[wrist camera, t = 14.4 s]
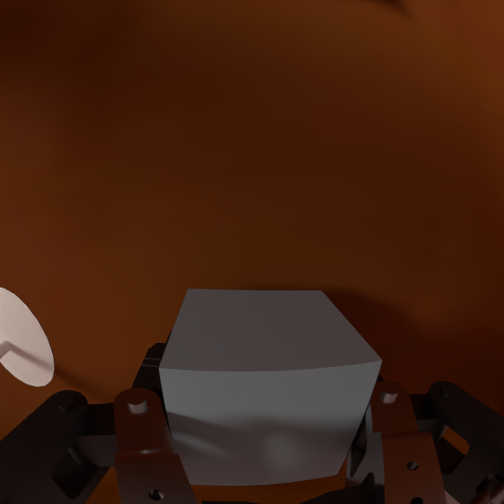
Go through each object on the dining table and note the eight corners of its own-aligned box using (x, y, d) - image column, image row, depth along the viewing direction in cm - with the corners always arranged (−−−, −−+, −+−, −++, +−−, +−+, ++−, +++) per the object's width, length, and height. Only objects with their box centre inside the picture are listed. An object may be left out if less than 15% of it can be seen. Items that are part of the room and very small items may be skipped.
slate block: (194, 392, 11) (184, 483, 6) (188, 288, 10) (158, 367, 5) (305, 390, 12) (337, 474, 7) (321, 290, 11) (382, 360, 6)
